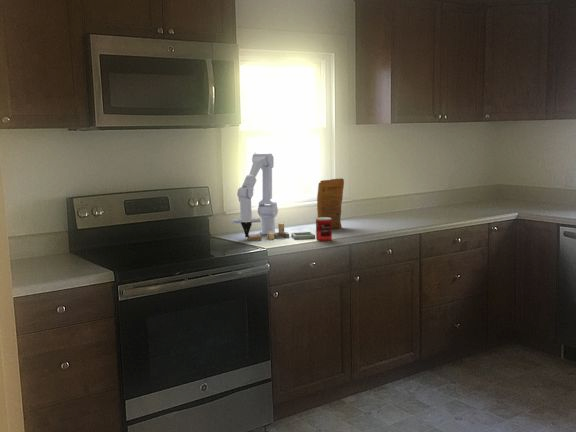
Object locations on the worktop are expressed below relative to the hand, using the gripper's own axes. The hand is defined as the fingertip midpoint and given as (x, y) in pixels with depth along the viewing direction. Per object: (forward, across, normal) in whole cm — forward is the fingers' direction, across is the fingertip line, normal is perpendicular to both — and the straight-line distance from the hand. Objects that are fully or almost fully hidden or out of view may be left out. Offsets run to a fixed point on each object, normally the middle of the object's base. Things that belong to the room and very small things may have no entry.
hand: (246, 237), depth 331 cm
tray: (+1, +29, -2) cm, 29 cm away
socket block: (+1, +18, +3) cm, 19 cm away
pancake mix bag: (+2, +49, +24) cm, 55 cm away
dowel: (+1, +18, +3) cm, 19 cm away
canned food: (+2, +38, -14) cm, 40 cm away
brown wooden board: (+2, +4, 0) cm, 4 cm away
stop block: (+1, +12, 0) cm, 12 cm away
